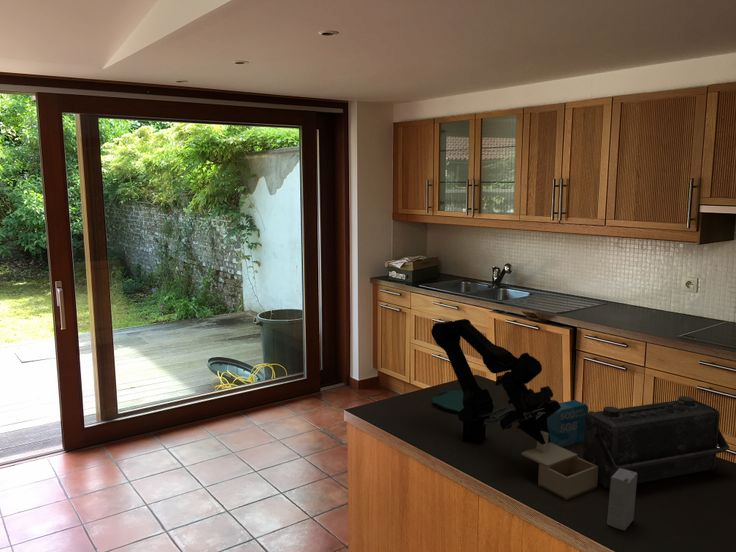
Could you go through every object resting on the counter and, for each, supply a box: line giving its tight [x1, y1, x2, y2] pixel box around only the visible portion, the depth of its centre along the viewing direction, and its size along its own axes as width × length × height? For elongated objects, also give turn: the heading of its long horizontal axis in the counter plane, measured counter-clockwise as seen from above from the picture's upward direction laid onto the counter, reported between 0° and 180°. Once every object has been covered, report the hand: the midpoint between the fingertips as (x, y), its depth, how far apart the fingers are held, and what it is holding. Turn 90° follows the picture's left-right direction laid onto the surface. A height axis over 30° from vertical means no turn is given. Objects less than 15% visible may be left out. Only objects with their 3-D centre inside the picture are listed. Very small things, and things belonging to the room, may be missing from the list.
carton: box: [537, 456, 598, 501], centre depth 159 cm, size 9×12×6 cm
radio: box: [582, 395, 730, 490], centre depth 164 cm, size 38×14×20 cm, turn 109°
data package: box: [547, 399, 589, 448], centre depth 186 cm, size 12×4×12 cm, turn 116°
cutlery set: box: [431, 389, 514, 426], centre depth 214 cm, size 20×30×2 cm, turn 44°
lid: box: [520, 430, 579, 467], centre depth 163 cm, size 9×12×6 cm
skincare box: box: [606, 468, 637, 531], centre depth 141 cm, size 6×4×12 cm
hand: (546, 443), depth 164 cm, fingers closed on lid, 2 cm apart
